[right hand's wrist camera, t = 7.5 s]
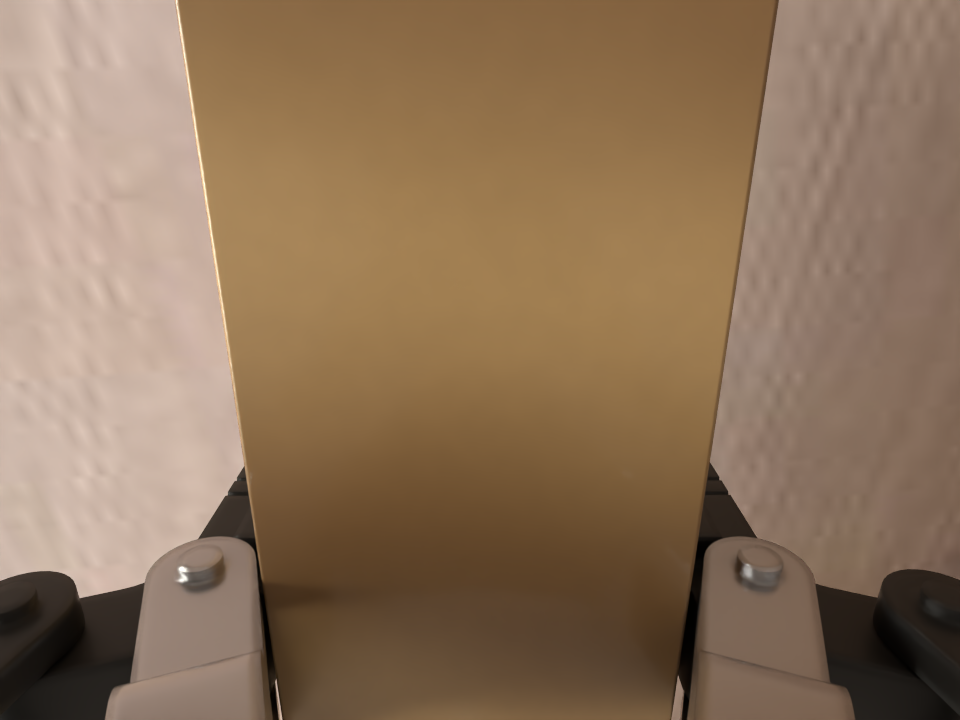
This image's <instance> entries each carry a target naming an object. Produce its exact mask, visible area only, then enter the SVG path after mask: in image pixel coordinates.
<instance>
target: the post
mask: <svg viewBox="0 0 960 720" xmlns="http://www.w3.org/2000/svg"><path fill="white" fill-rule="evenodd" d="M778 2H779V0H175V5H176V11H177V18H178V25H179V31H180V38H181V45H182V52H183V58H184V65H185V72H186V78H187V85H188V92H189V98H190V105H191V112H192V118H193V125H194V132H195V138H196V145H197V152H198V158H199V165H200V172H201V178H202V185H203V192H204V198H205V205H206V212H207V218H208V225H209V232H210V238H211V245H212V252H213V258H214V265H215V272H216V278H217V285H218V292H219V298H220V305H221V312H222V318H223V325H224V332H225V339H226V345H227V352H228V359H229V365H230V372H231V379H232V385H233V392H234V399H235V405H236V412H237V419H238V425H239V432H240V439H241V445H242V452H243V459H244V465H245V472H246V479H247V485H248V492H249V499H250V505H251V512H252V519H253V525H254V532H255V539H256V545H257V552H258V559H259V565H260V572H261V579H262V585H263V592H264V599H265V605H266V612H267V619H268V626H269V632H270V639H271V646H272V652H273V659H274V666H275V672H276V679H277V686H278V692H279V699H280V706H281V712H282V719H283V720H671V717H672V711H673V704H674V697H675V691H676V684H677V677H678V671H679V664H680V657H681V650H682V644H683V637H684V630H685V624H686V617H687V610H688V604H689V597H690V590H691V584H692V577H693V570H694V564H695V557H696V550H697V543H698V537H699V530H700V523H701V517H702V510H703V503H704V497H705V490H706V483H707V477H708V470H709V463H710V457H711V450H712V443H713V436H714V430H715V423H716V416H717V410H718V403H719V396H720V390H721V383H722V376H723V370H724V363H725V356H726V349H727V343H728V336H729V329H730V323H731V316H732V309H733V303H734V296H735V289H736V283H737V276H738V269H739V263H740V256H741V249H742V242H743V236H744V229H745V222H746V216H747V209H748V202H749V196H750V189H751V182H752V176H753V169H754V162H755V155H756V149H757V142H758V135H759V129H760V122H761V115H762V109H763V102H764V95H765V89H766V82H767V75H768V69H769V62H770V55H771V48H772V42H773V35H774V28H775V22H776V15H777V8H778Z"/></svg>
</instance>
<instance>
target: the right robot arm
mask: <svg viewBox="0 0 960 720" xmlns="http://www.w3.org/2000/svg"><path fill="white" fill-rule="evenodd" d="M678 676H679V679H680V682H681V684H682V687H683V690H684V692H683V698H682V705H681V715H680V720H960V580H958V579H955V578H953V577H950V576H947V575H943V574H940V573H936V572H931V571H926V570H915V569H907V570H900V571H896V572H893V573H891V574H889V575H888V576H887V577H886V578H885V579H884V580H883V582H882V585H881V589H880V592H879V596H878V598H875V597H871V596H866V595H861V594H857V593H852V592H847V591H843V590H838V589H833V588H829V587H825V586H821V585H818V584H815V579H814V576H813V573H812V572H811V570H810V568H809V567H808V566H807V564H806V563H805V562H804V561H803V560H802V559H800V558H799V557H798V556H797V555H795V554H794V553H792V552H791V551H789V550H787V549H786V548H784V547H782V546H779V545H777V544H775V543H772V542H769V541H766V540H762V539H758V538H757V537H756V535H755V534H754V532H753V531H752V529H751V527H750V526H749V524H748V523H747V521H746V519H745V518H744V516H743V515H742V513H741V511H740V510H739V508H738V507H737V505H736V503H735V502H734V500H733V499H732V497H731V495H728V490H727V489H726V487H725V486H724V484H723V482H722V481H719V476H718V474H717V473H716V471H715V470H714V468H713V466H712V465H711V463H709V470H708V477H707V483H706V490H705V497H704V503H703V510H702V517H701V523H700V530H699V537H698V543H697V550H696V557H695V564H694V570H693V577H692V584H691V590H690V597H689V604H688V610H687V617H686V624H685V630H684V637H683V644H682V650H681V657H680V664H679V671H678ZM275 681H276V672H275V666H274V659H273V652H272V646H271V639H270V632H269V626H268V619H267V612H266V605H265V599H264V592H263V585H262V579H261V572H260V565H259V559H258V552H257V545H256V539H255V532H254V525H253V519H252V512H251V505H250V499H249V492H248V485H247V479H246V472H245V466H244V468H243V469H242V471H241V472H240V474H239V475H238V477H237V481H235V482H234V483H233V485H232V486H231V488H230V490H229V491H228V496H225V498H224V499H223V501H222V502H221V504H220V505H219V507H218V509H217V510H216V512H215V513H214V515H213V516H212V518H211V520H210V521H209V523H208V524H207V526H206V528H205V529H204V531H203V532H202V534H201V535H200V537H199V539H198V540H194V541H191V542H188V543H185V544H183V545H181V546H178V547H176V548H174V549H173V550H171V551H169V552H168V553H166V554H165V555H163V556H162V557H161V558H160V559H159V560H157V561H156V562H155V563H154V565H153V566H152V567H151V568H150V570H149V572H148V573H147V576H146V579H145V583H143V584H140V585H137V586H134V587H130V588H126V589H122V590H117V591H112V592H108V593H103V594H98V595H94V596H89V597H84V598H80V599H79V595H78V592H77V588H76V585H75V583H74V581H73V580H72V579H71V578H70V577H69V576H67V575H65V574H62V573H59V572H51V571H39V572H31V573H26V574H21V575H17V576H14V577H10V578H7V579H5V580H2V581H0V720H280V714H279V704H278V698H277V691H276V685H275Z"/></svg>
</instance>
